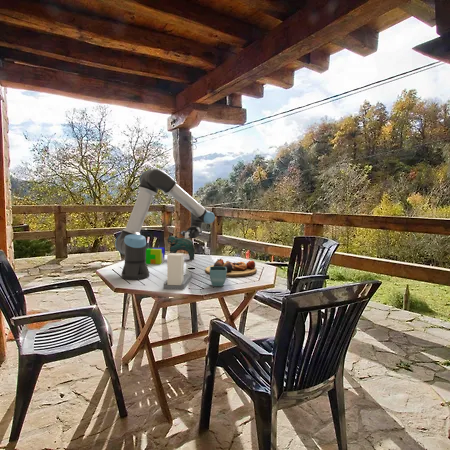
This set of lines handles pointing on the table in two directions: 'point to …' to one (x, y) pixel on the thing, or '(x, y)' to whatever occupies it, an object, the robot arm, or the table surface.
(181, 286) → the grey chute
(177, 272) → the cream block
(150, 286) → the table surface
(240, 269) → the wooden plate with food
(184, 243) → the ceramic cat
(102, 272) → the table surface
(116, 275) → the table surface
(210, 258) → the table surface
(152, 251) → the puzzle toy
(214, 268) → the flower pot
